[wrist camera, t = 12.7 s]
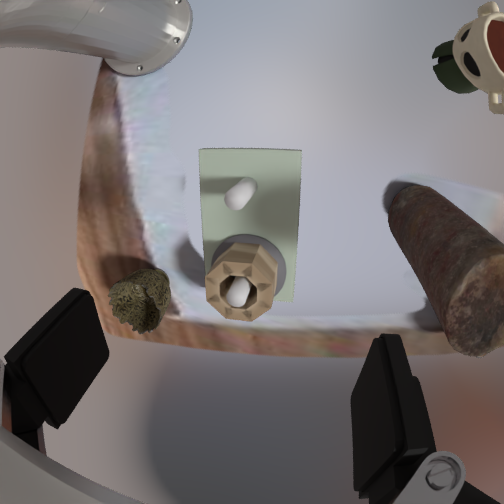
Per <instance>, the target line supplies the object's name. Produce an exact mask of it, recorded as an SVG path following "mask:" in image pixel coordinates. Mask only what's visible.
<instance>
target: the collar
mask: <svg viewBox="0 0 504 504" xmlns="http://www.w3.org/2000/svg"><path fill="white" fill-rule="evenodd" d="M277 269H278V262H277V261H276V260H275V259H274V258H273V257H272V256H271V255H270V254H269V253H268V252H267V251H266V250H265V249H264V248H263V247H262V246H261V244H251V243H237V242H235V243H234V244H232V245H231V246H230V247H229V248H228V249H227V250H226V251H225V252H224V253H222V254H221V255H220V256H219V257H218V258H217V260H216V261H215V263H214V264H213V266H212V267H211V269H210V270H209V272H208V273H207V275H206V276H205V287H206V299H207V302H209V303H210V304H211V305H212V306H213V307H214V308H215V309H216V310H217V311H218V312H219V313H220V314H221V315H222V316H224V317H225V318H226V319H234V320H242V321H251V322H252V321H253V320H255V319H256V318H258V317H259V316H261V315H262V314H263V313H265V312H266V311H268V310H269V309H270V308H271V307H272V302H273V298H274V294H275V290H276V286H277ZM231 275H233V276H243V277H247V278H248V279H249V280H250V281H251V282H252V283H253V284H254V285H255V286H251V289H250V291H249V294H248V296H247V299H246V302H245V304H244V305H243V306H240V307H234V306H232V305H230V304H229V303H228V301H227V298H226V296H227V293H228V291H229V289H230V287H231V285H232V283H233V281H234V278H233V277H232V276H231Z"/></svg>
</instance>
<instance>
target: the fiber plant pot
mask: <svg viewBox="0 0 504 504" xmlns="http://www.w3.org/2000/svg"><path fill="white" fill-rule="evenodd" d="M169 285H170V281H169V278H168V276H167V274H166V273H165V272H164V271H162V270H160V269H140V270H137V271H135V272H133V273H131V274H129V275H128V276H126V277H125V278H123V279H122V280H120V281H119V282H117V283H115V284H114V286H113V287H111V289H110V290H109V291H110V293H109V295H108V297H111V300H110V302H109V305H113V308H112V311H113V316H115V317H117V318H119V321H120V323H121V324H124V323H125V322H128V323H129V324H130V325H133V329H132V331H136V330H137V331H138V333H139V334H143V333H145V332H146V331H148V332H149V333H150V332H152V331H153V329H154V328H155V329H156V328H157V327H158V326H159V324H160V322H161V320H162V318H163V316H164V314H165V312H166V310H167V307H168V305H169V302H170V298H171V290H170V286H169Z"/></svg>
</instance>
